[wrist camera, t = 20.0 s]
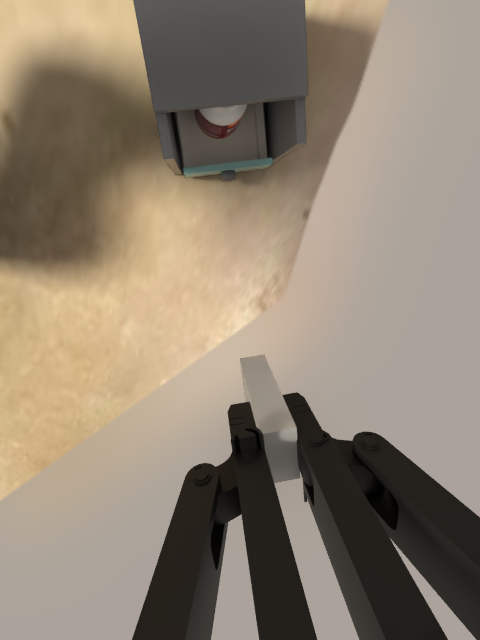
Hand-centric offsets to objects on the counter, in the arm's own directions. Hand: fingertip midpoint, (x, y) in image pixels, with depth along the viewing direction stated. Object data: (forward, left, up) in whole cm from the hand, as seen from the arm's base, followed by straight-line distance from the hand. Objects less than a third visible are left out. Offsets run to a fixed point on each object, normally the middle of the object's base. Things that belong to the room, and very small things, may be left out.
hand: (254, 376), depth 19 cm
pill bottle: (+3, +22, -33) cm, 39 cm away
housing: (+3, +24, -34) cm, 42 cm away
